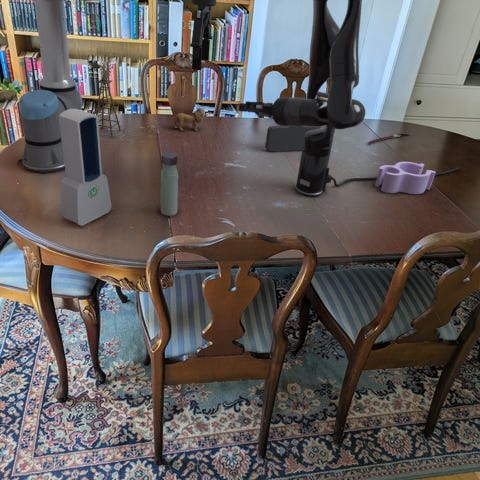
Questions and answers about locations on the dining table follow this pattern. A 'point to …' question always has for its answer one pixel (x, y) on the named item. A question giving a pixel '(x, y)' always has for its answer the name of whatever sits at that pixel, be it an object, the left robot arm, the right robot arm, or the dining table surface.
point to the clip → (404, 178)
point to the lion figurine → (189, 118)
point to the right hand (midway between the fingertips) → (248, 109)
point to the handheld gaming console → (287, 137)
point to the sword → (386, 138)
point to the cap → (169, 158)
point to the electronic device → (82, 168)
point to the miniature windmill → (105, 81)
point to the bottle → (169, 190)
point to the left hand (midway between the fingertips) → (200, 65)
